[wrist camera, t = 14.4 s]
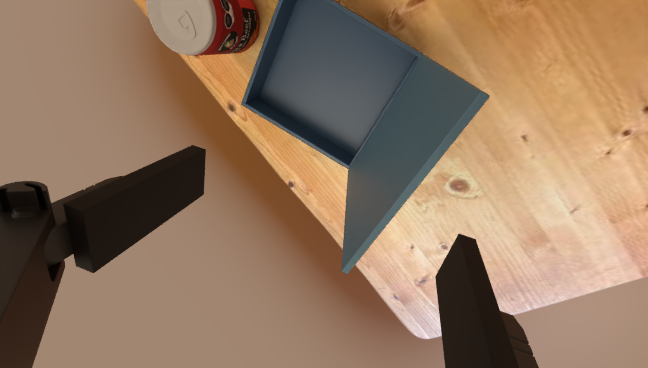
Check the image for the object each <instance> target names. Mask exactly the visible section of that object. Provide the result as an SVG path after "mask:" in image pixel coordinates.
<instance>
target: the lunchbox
mask: <svg viewBox="0 0 648 368" xmlns="http://www.w3.org/2000/svg"><path fill="white" fill-rule="evenodd" d="M422 54H423V53H421V52H419V51H418V50H416V49H414V48H413V47H411V46H409V45H408V44H406V43H404V42H403V41H401V40H399V39H398V38H396V37H394V36H392V35H391V34H389V33H387V32H386V31H384V30H382V29H381V28H379V27H377V26H376V25H374V24H372V23H371V22H369V21H367V20H366V19H364V18H362V17H361V16H359V15H357V14H356V13H354V12H352V11H351V10H349V9H347V8H346V7H344V6H342V5H341V4H339V3H337V2H336V1H334V0H279V1H278V4H277V6H276V9H275V12H274V15H273V17H272V20H271V23H270V26H269V28H268V31H267V34H266V37H265V40H264V42H263V45H262V48H261V51H260V53H259V56H258V59H257V62H256V64H255V67H254V70H253V73H252V76H251V78H250V81H249V84H248V87H247V89H246V92H245V95H244V98H243V101H242V103H241V105H243V106H244V107H246V108H248V109H249V110H251V111H253V112H254V113H256V114H258V115H259V116H261V117H263V118H264V119H266V120H268V121H269V122H271V123H273V124H274V125H276V126H278V127H279V128H281V129H283V130H284V131H286V132H287V133H289V134H291V135H292V136H294V137H296V138H297V139H299V140H301V141H302V142H304V143H306V144H307V145H309V146H311V147H312V148H314V149H316V150H317V151H319V152H321V153H322V154H324V155H326V156H327V157H329V158H331V159H332V160H334V161H336V162H337V163H339V164H341V165H342V166H344V167H346V168H347V169H350V167H351V165H352V164H353V162H354V161H355V159H356V157H357V156H358V154H359V153H360V151H361V150H362V148H363V146H364V145H365V143H366V142H367V140H368V138H369V137H370V135H371V134H372V132H373V131H374V129H375V127H376V126H377V124H378V123H379V121H380V119H381V118H382V116H383V115H384V113H385V112H386V110H387V108H388V107H389V105H390V104H391V102H392V100H393V99H394V97H395V96H396V94H397V93H398V91H399V89H400V88H401V86H402V85H403V83H404V81H405V80H406V78H407V77H408V75H409V74H410V72H411V70H412V69H413V67H414V66H415V64H416V62H417V61H418V59H419V58H420V56H421V55H422Z"/></svg>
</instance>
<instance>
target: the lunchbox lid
mask: <svg viewBox="0 0 648 368" xmlns="http://www.w3.org/2000/svg"><path fill="white" fill-rule="evenodd" d="M489 97H490V96H489V95H488V94H486V93H485V92H483V91H481V90H480V89H478V88H477V87H475V86H473V85H472V84H470V83H469V82H467V81H465V80H464V79H462V78H461V77H459V76H457V75H456V74H454V73H453V72H451V71H449V70H448V69H446V68H445V67H443V66H442V65H440V64H438V63H437V62H435V61H434V60H432V59H430V58H429V57H427V56H426V55H424V54H422V55H421V56H420V58H419V59H418V61H417V62H416V64H415V66H414V67H413V69H412V70H411V72H410V74H409V75H408V77H407V78H406V80H405V81H404V83H403V85H402V86H401V88H400V89H399V91H398V93H397V94H396V96H395V97H394V99H393V100H392V102H391V104H390V105H389V107H388V108H387V110H386V112H385V113H384V115H383V116H382V118H381V119H380V121H379V123H378V124H377V126H376V127H375V129H374V131H373V132H372V134H371V135H370V137H369V138H368V140H367V142H366V143H365V145H364V146H363V148H362V150H361V151H360V153H359V154H358V156H357V157H356V159H355V161H354V162H353V164H352V165H351V167H350V169H349V170H348V182H347V197H346V212H345V226H344V241H343V256H342V272H344V273H346V274H348V273H349V272H350V270H351V269H352V268H353V267H354V265H355V264H356V263H357V262H358V260H359V259H360V258H361V257H362V255H363V254H364V253H365V252H366V250H367V249H368V248H369V247H370V245H371V244H372V243H373V242H374V240H375V239H376V238H377V237H378V235H379V234H380V233H381V232H382V230H383V229H384V228H385V227H386V225H387V224H388V223H389V222H390V221H391V219H392V218H393V217H394V216H395V214H396V213H397V212H398V211H399V209H400V208H401V207H402V206H403V204H404V203H405V202H406V201H407V199H408V198H409V197H410V196H411V194H412V193H413V192H414V191H415V189H416V188H417V187H418V186H419V184H420V183H421V182H422V181H423V179H424V178H425V177H426V176H427V174H428V173H429V172H430V171H431V169H432V168H433V167H434V166H435V164H436V163H437V162H438V161H439V159H440V158H441V157H442V156H443V154H444V153H445V152H446V151H447V149H448V148H449V147H450V146H451V144H452V143H453V142H454V141H455V139H456V138H457V137H458V136H459V134H460V133H461V132H462V131H463V129H464V128H465V127H466V126H467V125H468V123H469V122H470V121H471V120H472V118H473V117H474V116H475V115H476V113H477V112H478V111H479V110H480V108H481V107H482V106H483V105H484V103H485V102H486V101H487V100H488V98H489Z"/></svg>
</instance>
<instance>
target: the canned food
mask: <svg viewBox="0 0 648 368" xmlns="http://www.w3.org/2000/svg"><path fill="white" fill-rule="evenodd" d="M146 5H147V12H148V16H149V19H150V22H151V25H152V27H153V29H154V31H155V32H156V34H157V36H158V37H159V38H160V40H161V41H162V42H163V43H164V44H165V45H166V46H167V47H169V48H170V49H171V50H173V51H175V52H177V53H179V54H183V55H214V54H230V53H240V52H243V51H245V50H247V49H248V48H249V47H250V46H251V45H252V44H253V43H254V42H255V40H256V38H257V35H258V31H259V19H258V14H257V11H256V8H255V6H254V4H253V2H252V1H251V0H146Z"/></svg>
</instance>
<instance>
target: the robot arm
mask: <svg viewBox="0 0 648 368" xmlns="http://www.w3.org/2000/svg"><path fill="white" fill-rule="evenodd" d="M205 154H206V150H205V149H203V148H200V147H196V146H193V145H192V146H190V147H188V148H185V149H183V150H181V151H179V152H176V153H174V154H172V155H170V156H168V157H165V158H163V159H161V160H159V161H156V162H154V163H152V164H150V165H148V166H146V167H143V168H141V169H139V170H137V171H134V172H132V173H130V174H128V175H126V176H119V177H114V178H110V179H106V180H104V181H102V182H99V183H97V184H95V186H94V185H93V186H90V187H88V188H86V189H85V190H81V191H79V192H76V193H74V194H72V195H69V196H67V197H65V198H63V199H60V200H58V201H56V202H53V203H51V201H50V197H49V192H48V189H47V186H46V185H44V184H42V183H39V182H33V181H22V182H14V183H10V184H5V185H3V186H1V187H0V368H32V366H33V363H34V360H35V357H36V354H37V351H38V348H39V344H40V342H41V339H42V335H43V333H44V329H45V326H46V323H47V320H48V317H49V314H50V311H51V308H52V305H53V302H54V299H55V296H56V293H57V290H58V287H59V284H60V281H61V278H62V275H63V271H64V268H65V262H64V259H65V258H67V257H69V256H70V255H72V254H74V259H75V263H76V266H77V267H80V268H82V269H85V270H87V271H90V272H92V273H94V272H96V271H97V270H99V269H100V268H101V267H103V266H104V265H106V264H107V263H108V262H110V261H111V260H113V259H114V258H115V257H117V256H118V255H120V254H121V253H122V252H124V251H125V250H126V249H128V248H129V247H131V246H132V245H134V244H135V243H136V242H138V241H139V240H141V239H142V238H143V237H145V236H146V235H148V234H149V233H150V232H152V231H153V230H155V229H156V228H157V227H159V226H160V225H162V224H163V223H164V222H166V221H167V220H169V219H170V218H171V217H173V216H174V215H176V214H177V213H178V212H180V211H181V210H182V209H184V208H185V207H187V206H188V205H189V204H191V203H192V202H194V201H195V200H197V199H198V198H199V197H201V196H202V195H203V194H204V175H205ZM436 286H437V295H438V304H439V313H440V322H441V331H442V340H443V350H444V359H445V368H539V367H538V365H537V362H536V360H535V357H533V353H532V350H531V347H530V346H529V345H528V340H527V337H526V335H525V333H524V330H523V328H522V327H521V326H520V324H519V323H518V322H517V321H516V319H515V318H514V316H513V315H510V314H507V313H504V312H502V311H500V310H499V307H498V304H497V301H496V298H495V295H494V292H493V289H492V286H491V283H490V280H489V277H488V274H487V271H486V269H485V266H484V263H483V260H482V257H481V254H480V251H479V248H478V245H477V242H476V239H473V238H470V237H467V236H464V235H461V234H458V236H457V238H456V240H455V242H454V243H453V245H452V247H451V249H450V251H449V253H448V255H447V256H446V258H445V260H444V262H443V264H442V266H441V267H440V269H439V271H438V273H437V275H436Z"/></svg>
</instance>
